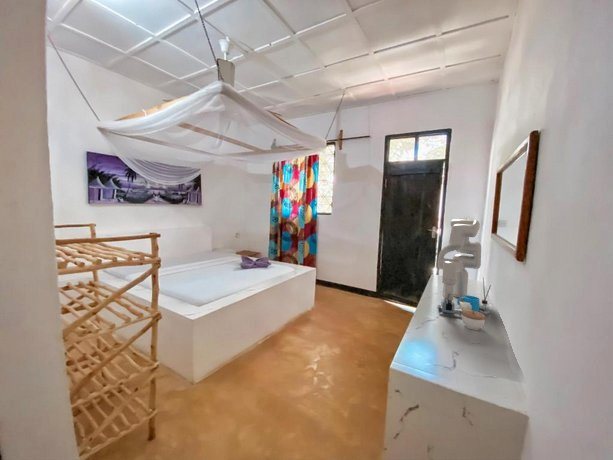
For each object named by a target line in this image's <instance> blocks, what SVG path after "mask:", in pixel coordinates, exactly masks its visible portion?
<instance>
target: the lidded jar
mask: <svg viewBox="0 0 613 460" xmlns="http://www.w3.org/2000/svg"><path fill="white" fill-rule="evenodd" d="M461 320H462V323H463V324H464V326H465V327H466V328H467V329H470V330H473V331H479V330H480V329H481V328H483V326H484V325H485V322H486V321H485V320H486V315H485V314H484V313H481V312H480V311H479V312H477V311H472V310H463V311H462V319H461Z"/></svg>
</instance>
